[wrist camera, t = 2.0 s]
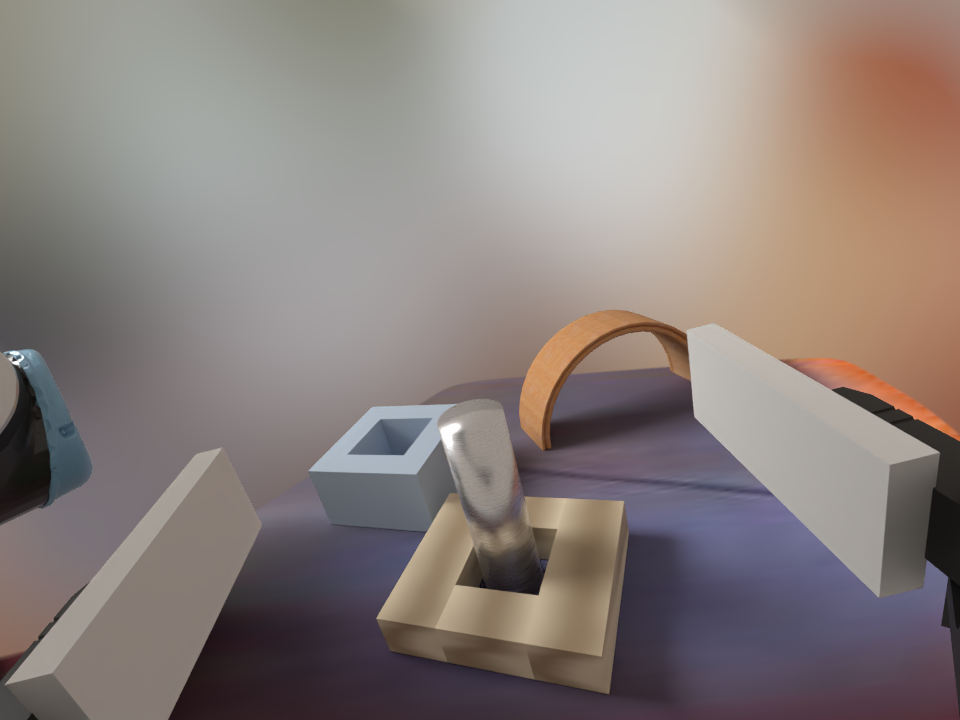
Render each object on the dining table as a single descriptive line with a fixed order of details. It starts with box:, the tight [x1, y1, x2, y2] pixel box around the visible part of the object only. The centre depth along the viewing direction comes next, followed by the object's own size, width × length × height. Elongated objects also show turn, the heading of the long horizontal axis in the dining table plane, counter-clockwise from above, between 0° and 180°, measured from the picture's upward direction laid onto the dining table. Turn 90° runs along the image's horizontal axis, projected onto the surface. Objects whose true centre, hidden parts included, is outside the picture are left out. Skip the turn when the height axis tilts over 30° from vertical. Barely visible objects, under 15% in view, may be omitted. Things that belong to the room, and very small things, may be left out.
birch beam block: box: [376, 493, 629, 694], centre depth 34 cm, size 14×12×3 cm
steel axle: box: [437, 399, 544, 595], centre depth 32 cm, size 4×4×14 cm
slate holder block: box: [308, 404, 458, 532], centre depth 48 cm, size 11×11×6 cm
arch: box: [519, 310, 691, 451], centre depth 52 cm, size 6×20×10 cm, turn 107°
